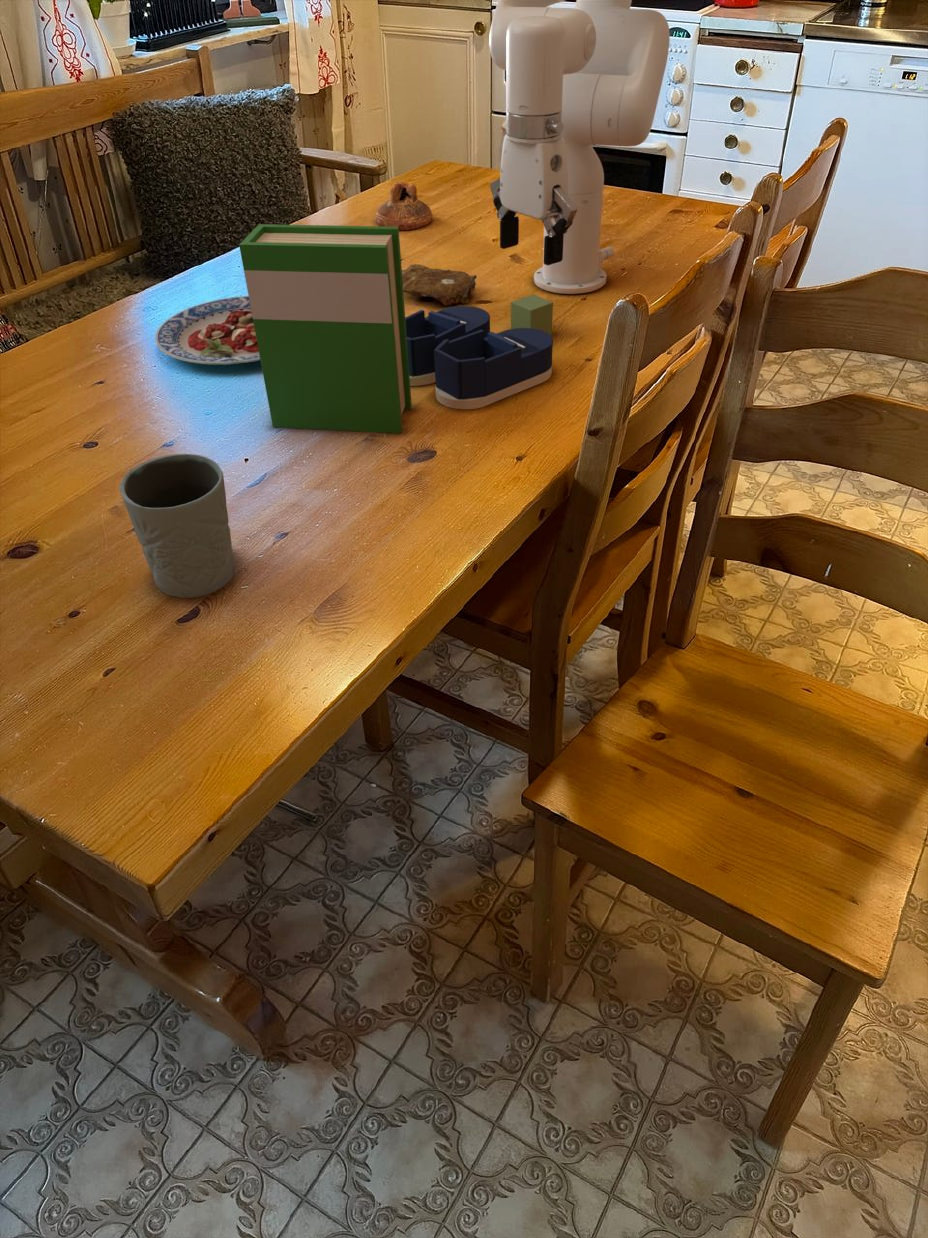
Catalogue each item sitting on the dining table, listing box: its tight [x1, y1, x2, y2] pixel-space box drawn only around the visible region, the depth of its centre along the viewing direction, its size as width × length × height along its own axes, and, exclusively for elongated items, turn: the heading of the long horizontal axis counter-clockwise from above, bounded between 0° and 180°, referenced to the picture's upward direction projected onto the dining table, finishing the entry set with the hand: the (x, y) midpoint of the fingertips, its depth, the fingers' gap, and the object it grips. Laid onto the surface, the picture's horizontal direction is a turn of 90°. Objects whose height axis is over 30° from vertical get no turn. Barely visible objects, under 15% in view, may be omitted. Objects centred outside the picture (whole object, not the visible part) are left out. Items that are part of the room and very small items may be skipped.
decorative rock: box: [402, 263, 477, 306], centre depth 156 cm, size 11×4×15 cm
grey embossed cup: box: [119, 453, 236, 599], centre depth 95 cm, size 10×10×12 cm
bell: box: [374, 181, 433, 231], centre depth 185 cm, size 12×12×7 cm
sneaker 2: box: [434, 328, 554, 411], centre depth 129 cm, size 19×9×7 cm, turn 128°
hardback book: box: [238, 223, 413, 434], centre depth 117 cm, size 18×7×24 cm, turn 81°
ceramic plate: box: [154, 295, 261, 365], centre depth 144 cm, size 26×26×3 cm
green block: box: [510, 293, 554, 337], centre depth 142 cm, size 5×5×5 cm
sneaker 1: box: [405, 305, 491, 387], centre depth 135 cm, size 19×9×7 cm, turn 139°
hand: (530, 254), depth 135 cm, fingers open, 9 cm apart
